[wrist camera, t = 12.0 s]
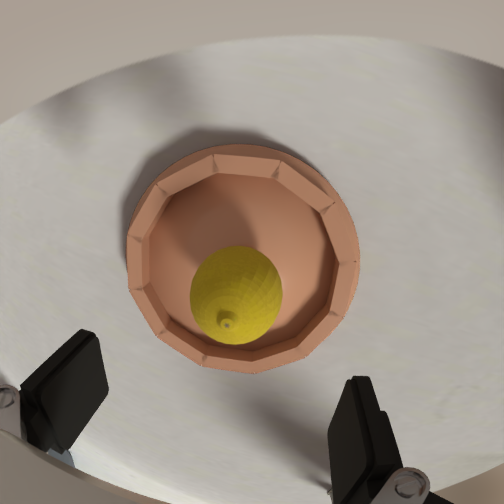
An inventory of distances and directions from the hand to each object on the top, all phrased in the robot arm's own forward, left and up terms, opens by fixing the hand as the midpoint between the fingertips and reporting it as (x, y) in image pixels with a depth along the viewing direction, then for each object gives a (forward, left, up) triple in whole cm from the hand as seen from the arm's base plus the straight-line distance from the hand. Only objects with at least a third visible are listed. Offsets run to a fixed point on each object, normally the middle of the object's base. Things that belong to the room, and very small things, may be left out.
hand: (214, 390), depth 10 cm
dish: (+1, 0, -14) cm, 14 cm away
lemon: (0, 0, -13) cm, 13 cm away
